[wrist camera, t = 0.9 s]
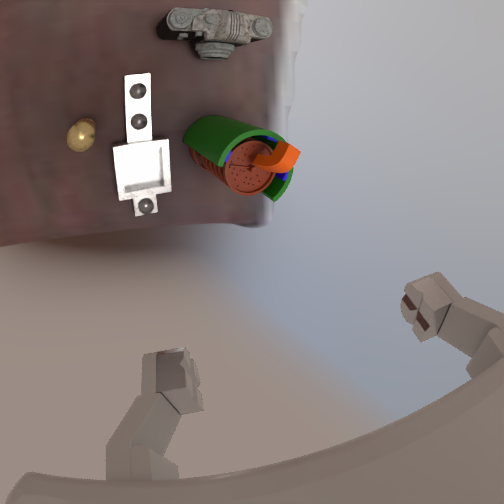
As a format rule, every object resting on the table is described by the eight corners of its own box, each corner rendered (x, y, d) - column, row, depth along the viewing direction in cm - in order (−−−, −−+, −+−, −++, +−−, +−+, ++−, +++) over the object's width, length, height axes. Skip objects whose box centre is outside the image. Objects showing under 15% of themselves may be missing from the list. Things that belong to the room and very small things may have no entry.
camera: (153, 59, 35) (166, 50, 28) (156, 18, 32) (172, 0, 24) (245, 63, 42) (278, 59, 34) (248, 26, 38) (282, 16, 31)
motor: (175, 160, 45) (222, 203, 30) (194, 107, 42) (255, 119, 27) (230, 175, 51) (298, 221, 36) (249, 126, 48) (327, 151, 33)
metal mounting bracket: (109, 78, 34) (109, 77, 31) (163, 72, 37) (167, 71, 35) (121, 214, 45) (122, 222, 43) (168, 205, 48) (173, 212, 46)
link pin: (72, 120, 34) (65, 126, 27) (95, 115, 36) (93, 120, 29) (74, 143, 36) (68, 154, 29) (97, 138, 38) (96, 148, 31)
